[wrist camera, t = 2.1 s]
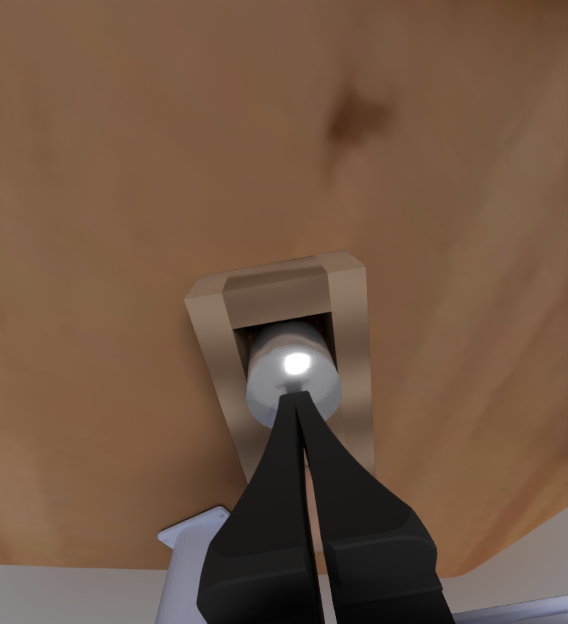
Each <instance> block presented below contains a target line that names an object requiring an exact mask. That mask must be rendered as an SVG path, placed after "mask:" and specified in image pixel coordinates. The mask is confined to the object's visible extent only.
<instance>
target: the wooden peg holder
mask: <svg viewBox="0 0 568 624" xmlns="http://www.w3.org/2000/svg"><path fill="white" fill-rule="evenodd" d="M184 301H185V304H186V307H187V310H188V313H189V316H190V318H191V321H192V324H193V327H194V330H195V333H196V336H197V339H198V342H199V344H200V347H201V350H202V353H203V356H204V359H205V362H206V365H207V367H208V370H209V373H210V376H211V379H212V382H213V385H214V388H215V391H216V393H217V396H218V399H219V402H220V405H221V408H222V411H223V414H224V416H225V419H226V422H227V425H228V428H229V431H230V434H231V437H232V439H233V442H234V445H235V448H236V451H237V454H238V457H239V460H240V463H241V465H242V468H243V471H244V474H245V477H246V480H247V483H248V484H249V482H250V480H251V478H252V476H253V474H254V472H255V470H256V468H257V466H258V464H259V462H260V460H261V457H262V455H263V453H264V450H265V448H266V445H267V442H268V440H269V437H270V434H271V431H272V429H271V428H269V427H267V426H265V425H263V424H261V423H260V422H259V421H258V420H256V419H255V418H254V416H253V415H252V414H251V412H250V410H249V408H248V406H247V402H246V390H247V378H248V366H249V354H250V346H249V342H248V338H247V335H246V331H245V327H247V326H253V325H258V324H264V323H269V322H275V321H280V320H286V319H292V318H297V317H303V316H308V315H314V314H319V313H322V318H323V326H324V335H325V342H326V345H327V347H328V350H329V352H330V355H331V358H332V360H333V363H334V365H335V368H336V370H337V373H338V375H339V378H340V381H341V384H342V398H341V402H340V404H339V406H338V408H337V409H336V411H335V412H334V413H333V415H332V416H331V417H330V418H328V419H327V420H326V421H325V422H326V424H327V425H328V426H329V428H330V429H331V431H332V432H333V433H334V435H335V436H336V437H337V438H338V440H339V441H340V442H341V443H342V445H343V446H344V447H345V448H346V449H347V450H348V451H349V453H350V454H351V455H352V456H353V457H354V458H355V459H356V460H357V461H358V462H359V463H360V464H361V465H362V466H363V467H364V468H365V469H366V470H367V471H368V472H369V473H370V474H371V475H372V476H373V477H374V478H375V463H374V440H373V418H372V396H371V373H370V351H369V329H368V306H367V284H366V266H365V265H363V264H362V263H361V262H360V261H358V260H357V259H356V258H355V257H353V256H352V255H351V254H350V253H348V252H347V251H346V250H342V251H337V252H332V253H326V254H321V255H315V256H310V257H304V258H299V259H293V260H288V261H282V262H277V263H271V264H266V265H260V266H255V267H249V268H244V269H239V270H233V271H228V272H222V273H217V274H211V275H206V276H200V277H199V279H198V280H197V281H196V283H195V284H194V286H193V287H192V289H191V290H190V291H189V293H188V294H187V296H186V297H185V299H184ZM304 460H305V465H308V462H307V458H306V454H305V450H304Z"/></svg>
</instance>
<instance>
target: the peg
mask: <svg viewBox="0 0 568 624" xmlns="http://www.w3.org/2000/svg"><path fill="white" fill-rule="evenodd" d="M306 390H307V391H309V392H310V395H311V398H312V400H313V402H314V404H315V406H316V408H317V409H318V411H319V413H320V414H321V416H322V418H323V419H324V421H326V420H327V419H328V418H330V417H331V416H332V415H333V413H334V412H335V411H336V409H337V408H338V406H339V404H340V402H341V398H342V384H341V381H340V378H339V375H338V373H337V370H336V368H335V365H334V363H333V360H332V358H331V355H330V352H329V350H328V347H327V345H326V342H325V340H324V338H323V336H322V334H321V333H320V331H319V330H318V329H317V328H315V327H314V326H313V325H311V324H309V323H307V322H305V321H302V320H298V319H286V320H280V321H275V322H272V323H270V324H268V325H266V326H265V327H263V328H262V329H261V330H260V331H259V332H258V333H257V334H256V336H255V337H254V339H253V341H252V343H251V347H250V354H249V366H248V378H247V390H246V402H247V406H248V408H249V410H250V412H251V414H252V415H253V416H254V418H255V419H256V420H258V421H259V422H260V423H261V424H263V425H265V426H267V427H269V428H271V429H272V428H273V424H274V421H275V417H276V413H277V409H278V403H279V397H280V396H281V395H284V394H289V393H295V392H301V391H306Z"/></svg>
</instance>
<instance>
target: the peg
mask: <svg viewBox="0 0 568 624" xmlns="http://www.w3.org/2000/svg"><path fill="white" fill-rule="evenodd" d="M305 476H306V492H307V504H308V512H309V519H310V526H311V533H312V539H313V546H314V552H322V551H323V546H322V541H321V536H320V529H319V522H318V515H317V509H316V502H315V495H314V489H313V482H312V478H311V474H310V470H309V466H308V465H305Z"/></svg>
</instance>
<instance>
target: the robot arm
mask: <svg viewBox="0 0 568 624" xmlns="http://www.w3.org/2000/svg"><path fill="white" fill-rule="evenodd" d="M304 450H305V454H306V458H307V462H308V466H309V470H310V474H311V478H312V482H313V489H314V495H315V502H316V509H317V515H318V522H319V529H320V536H321V541H322V546H323V551H324V556H325V561H326V566H327V571H328V576H329V582H330V588H331V594H332V601H333V606H334V610H335V615H336V620H337V624H568V595H562V596H556V597H550V598H545V599H538V600H533V601H527V602H520V603H515V604H509V605H502V606H496V607H491V608H485V609H479V610H472V611H466V612H461V613H455V614H451V612H450V609H449V607H448V605H447V603H446V600H445V598H444V596H443V593H442V590H443V588H442V585H441V583H440V580H439V578H438V576H437V574H436V571H435V569H436V561H437V548H436V546H435V544H434V541H433V540H432V538H431V536H430V534H429V533H428V531H427V529H426V528H425V526H424V525H423V523H422V522H421V520H420V519H419V517H418V516H417V515H416V513H415V512H414V510H413V509H412V508H411V507H410V506H408V505H407V504H406V503H404V502H403V501H402V500H401V499H399V498H398V497H397V496H396V495H394V494H393V493H392V492H391V491H389V490H388V489H387V488H386V487H385V486H383V485H382V484H381V483H380V482H379V481H378V480H377V479H376V478H374V477H373V476H372V475H371V474H370V473H369V472H368V471H367V470H366V469H365V468H364V467H363V466H362V465H361V464H360V463H359V462H358V461H357V460H356V459H355V458H354V457H353V456H352V455H351V454H350V453H349V451H348V450H347V449H346V448H345V447H344V446H343V445H342V443H341V442H340V441H339V440H338V438H337V437H336V436H335V435H334V433H333V432H332V431H331V429H330V428H329V426H328V425H327V424H326V422H325V421H324V419H323V418H322V416H321V414H320V413H319V411H318V409H317V408H316V406H315V404H314V402H313V400H312V398H311V395H310V392H309V391H307V390H306V391H301V392H295V393H289V394H284V395H281V396H280V397H279V403H278V409H277V413H276V417H275V421H274V424H273V428H272V431H271V434H270V437H269V440H268V442H267V445H266V448H265V450H264V453H263V455H262V457H261V460H260V462H259V464H258V466H257V468H256V470H255V472H254V474H253V476H252V478H251V480H250V482H249V484H248V486H247V488H246V489H245V491H244V493H243V494H242V496H241V498H240V499H239V501H238V503H237V504H236V506H235V507H234V509H233V511H232V512H231V514H230V513H229V512H228V511H227V510H226V509H225V508H224V507H222V506H218V507H215V508H213V509H211V510H208V511H206V512H204V513H202V514H199V515H197V516H195V517H192V518H190V519H188V520H186V521H183V522H181V523H179V524H177V525H174V526H172V527H170V528H168V529H165V530H163V531H161V532H159V534H158V539H159V540H160V541H162V542H163V543H165V544H166V545H168V546H169V547H170V548H172V549H173V552H172V556H171V560H170V564H169V568H168V572H167V576H166V581H165V584H164V589H163V592H162V597H161V601H160V605H159V609H158V613H157V617H156V621H155V624H325V620H324V613H323V607H322V600H321V594H320V587H319V581H318V573H317V567H316V560H315V553H314V546H313V539H312V533H311V526H310V519H309V512H308V504H307V492H306V476H305V460H304Z"/></svg>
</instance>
